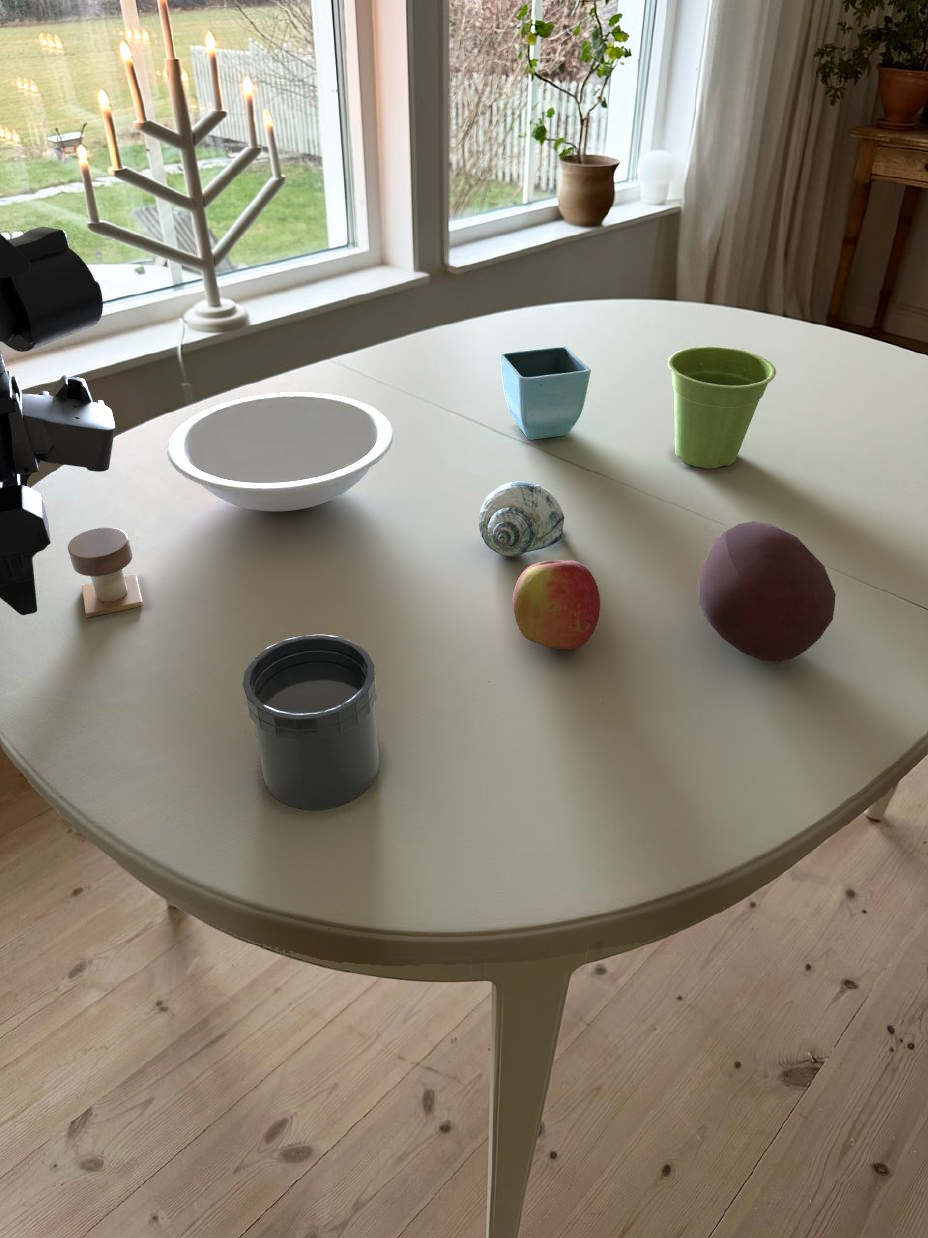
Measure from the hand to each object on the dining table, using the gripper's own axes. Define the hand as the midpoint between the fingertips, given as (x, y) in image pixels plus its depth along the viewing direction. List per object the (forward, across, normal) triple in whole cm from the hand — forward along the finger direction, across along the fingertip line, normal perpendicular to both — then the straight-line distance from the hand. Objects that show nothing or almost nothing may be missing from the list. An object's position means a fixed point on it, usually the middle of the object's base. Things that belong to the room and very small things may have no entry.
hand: (27, 578), depth 68 cm
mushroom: (+12, +14, -5) cm, 19 cm away
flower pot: (+12, +31, -58) cm, 67 cm away
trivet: (+12, +14, -5) cm, 19 cm away
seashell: (+12, +8, -44) cm, 46 cm away
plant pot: (+12, +17, -73) cm, 76 cm away
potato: (+12, -15, -56) cm, 59 cm away
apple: (+12, -8, -40) cm, 43 cm away
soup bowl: (+12, +28, -25) cm, 39 cm away
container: (+12, -15, -17) cm, 26 cm away
